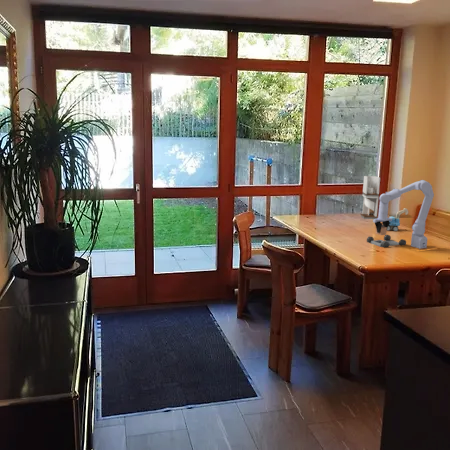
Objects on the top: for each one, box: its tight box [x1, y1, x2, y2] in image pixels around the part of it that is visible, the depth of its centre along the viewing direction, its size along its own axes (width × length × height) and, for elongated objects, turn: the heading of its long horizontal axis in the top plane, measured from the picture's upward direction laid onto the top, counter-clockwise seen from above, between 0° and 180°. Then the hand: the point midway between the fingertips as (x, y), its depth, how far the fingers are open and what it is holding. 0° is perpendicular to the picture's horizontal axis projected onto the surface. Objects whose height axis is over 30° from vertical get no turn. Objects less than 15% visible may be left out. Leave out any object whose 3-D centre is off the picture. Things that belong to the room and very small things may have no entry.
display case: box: [360, 175, 381, 220], centre depth 413 cm, size 11×11×35 cm
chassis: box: [366, 234, 407, 249], centre depth 324 cm, size 16×20×5 cm
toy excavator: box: [386, 207, 409, 232], centre depth 368 cm, size 9×17×17 cm, turn 78°
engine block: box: [374, 224, 387, 236], centre depth 321 cm, size 5×4×6 cm
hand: (381, 232), depth 321 cm, fingers closed on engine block, 4 cm apart
